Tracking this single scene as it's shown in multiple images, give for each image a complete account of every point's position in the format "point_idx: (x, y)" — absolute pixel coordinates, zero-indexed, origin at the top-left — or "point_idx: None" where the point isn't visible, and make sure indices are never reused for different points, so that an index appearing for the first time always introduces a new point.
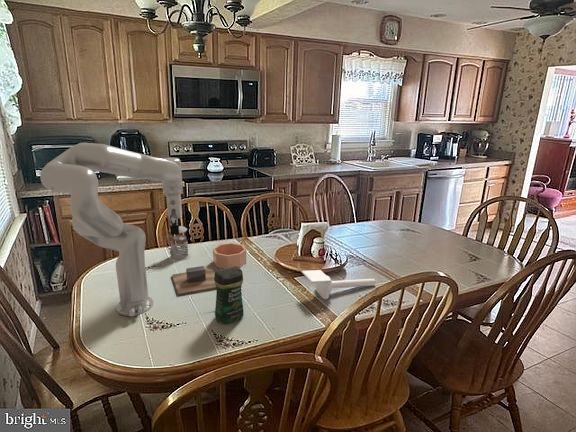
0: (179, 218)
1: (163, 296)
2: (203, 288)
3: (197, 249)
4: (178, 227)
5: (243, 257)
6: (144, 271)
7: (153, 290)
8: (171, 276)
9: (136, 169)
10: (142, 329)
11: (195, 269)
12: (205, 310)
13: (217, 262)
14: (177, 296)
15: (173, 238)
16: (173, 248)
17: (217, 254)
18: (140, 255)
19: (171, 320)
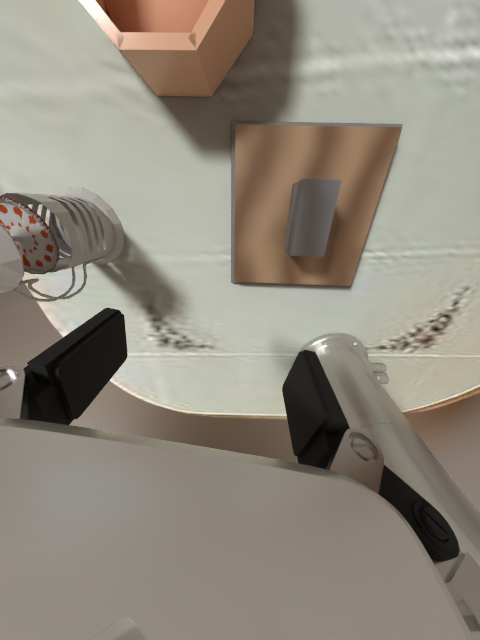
0: (64, 359)
1: (319, 311)
2: (372, 209)
3: (8, 139)
4: (335, 397)
5: None
6: (403, 418)
7: (280, 325)
8: (232, 281)
9: None
10: (413, 358)
11: (318, 223)
12: (461, 230)
13: (211, 73)
14: (349, 286)
15: (23, 260)
16: (83, 260)
17: (203, 39)
18: (467, 497)
19: (429, 312)
